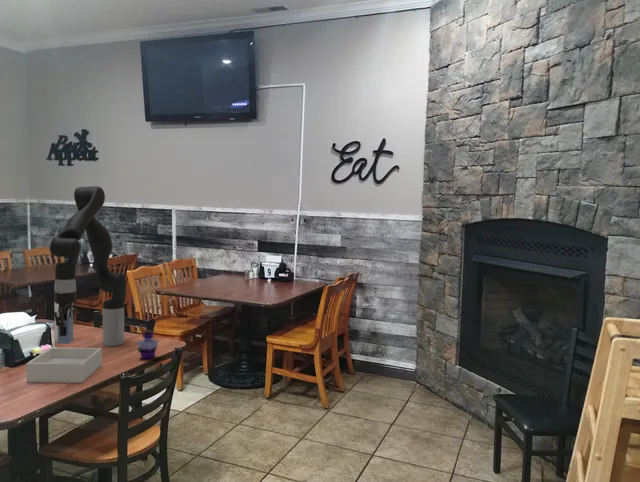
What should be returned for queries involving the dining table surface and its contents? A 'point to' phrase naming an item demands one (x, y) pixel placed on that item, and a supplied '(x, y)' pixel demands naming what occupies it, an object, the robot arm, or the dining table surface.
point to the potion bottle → (147, 346)
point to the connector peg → (69, 332)
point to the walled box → (64, 365)
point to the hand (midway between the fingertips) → (65, 334)
